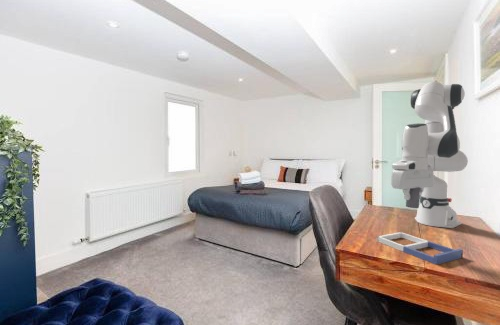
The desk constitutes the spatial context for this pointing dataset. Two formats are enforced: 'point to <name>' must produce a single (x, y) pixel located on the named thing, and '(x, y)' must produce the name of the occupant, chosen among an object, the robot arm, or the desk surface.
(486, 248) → the desk surface
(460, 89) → the robot arm
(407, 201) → the smooth grey pebble
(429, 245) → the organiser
